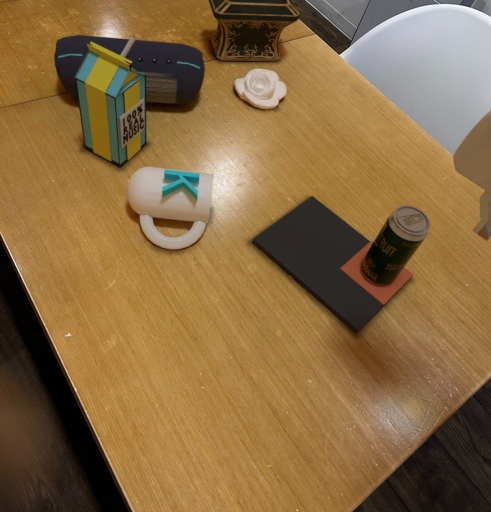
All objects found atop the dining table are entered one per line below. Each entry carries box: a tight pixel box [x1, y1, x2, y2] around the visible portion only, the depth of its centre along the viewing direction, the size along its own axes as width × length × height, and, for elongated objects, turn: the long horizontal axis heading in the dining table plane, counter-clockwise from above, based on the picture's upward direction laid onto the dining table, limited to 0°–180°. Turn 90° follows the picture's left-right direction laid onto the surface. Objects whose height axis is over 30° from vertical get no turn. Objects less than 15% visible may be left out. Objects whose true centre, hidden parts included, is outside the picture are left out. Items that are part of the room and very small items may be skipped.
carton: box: [75, 35, 148, 169], centre depth 74 cm, size 7×8×18 cm
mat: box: [251, 195, 414, 334], centre depth 74 cm, size 20×14×1 cm
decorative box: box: [208, 0, 301, 62], centre depth 95 cm, size 20×10×20 cm, turn 103°
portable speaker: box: [53, 34, 206, 105], centre depth 85 cm, size 25×10×10 cm, turn 96°
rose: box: [233, 68, 288, 110], centre depth 93 cm, size 10×4×10 cm
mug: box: [126, 166, 214, 250], centre depth 71 cm, size 12×9×12 cm
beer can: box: [361, 204, 431, 286], centre depth 68 cm, size 5×5×12 cm
